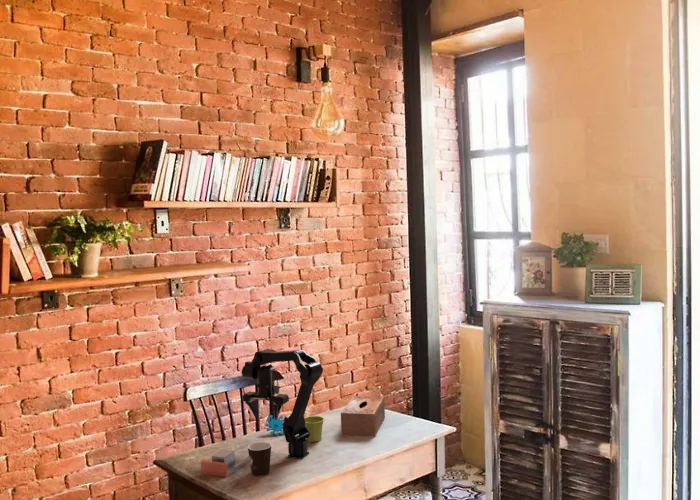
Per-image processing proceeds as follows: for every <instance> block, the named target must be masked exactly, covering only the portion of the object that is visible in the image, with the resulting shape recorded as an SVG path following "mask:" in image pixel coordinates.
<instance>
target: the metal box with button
mask: <svg viewBox="0 0 700 500" xmlns="http://www.w3.org/2000/svg"><path fill="white" fill-rule="evenodd" d="M235 455H236V452H235V450H230V449H223V448H221V450H218V451H217V452H216V453H213V454H212V455H211V461H214V462H222V463H228V469H230V468H231V467H233V466H234V465H236V456H235Z"/></svg>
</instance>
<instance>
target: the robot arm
mask: <svg viewBox="0 0 700 500" xmlns="http://www.w3.org/2000/svg"><path fill="white" fill-rule="evenodd" d="M273 362H274V363H276V362H280V363H281V362H293V363H294V365H295V368H296V370H297V371H298V373H299V380H300V382H301V383H300V386H299V389H298V393H297V395H296V399H295V402H294V405H293V407H292V410H291V413H290V414H288V415H285V416H284V417H283V418H284V419H283V420H284V422H283V424H282V425H283V429H282V431H283V432H284V434H283V435H284V437H285V438H284V439H285V442H286V443H287V447H288V448H287V449H288V455H287V457H288V458H293V459H295V458H296V459H299V460H301V459H304V458H305V457H307V455H309V454H310V452H309V451H308V440H307V439H306V438H309V436H310V432H309V431H308V429H307V428H306V427H305V419H304V418H305V414H306V411H307V408H308V405H309V401H310V398H311V394H312V391H313V389H314V386H315V385H316V383H317V382H318V381H319V380H320V378H321V377H322V375H323V372H324V367H323V366H322V364H321V363H320V362H319V361H318V360H317V359H316V358H315V357H313V356H311V355H310V354H308V353H307V352H305V350H304V349H296V350H295V349H294V350H275V349H271V348H270V349H269V348H266V349H261V350H258V351H256V352H254V356H253V358H252V360H251V361H249V360H248V361H245V362H244V365H243V367H242V368H241V376H242V377H243V378H245V379H251V380H257V384H255V387H256V388H257V391H249V390H248V391H247V392H245V393H243V394H242V396H241V397H242V398H241V399H242V402H244V404H246V405H247V406H248V407H249V409H250V411H251V413H252V415H253V416H254V418H255V419H257V418H258V415H259V414H258V413H259V411H258V403H259V400H260V401H272V402H273V403H274V404H273V407H272V408H273V414H274V415H273V417H274V418H275V420H277V419H278V418H279V416H280V415H279V414H280V412H281V409H282V407H283V405H285V404H287V403H288V402H289V401H290V397H289V395H288V394H287V393H280V385H279V386H278V385H275V383H274V381H272V380H273V379H272V377H273V376H272V371H276V367H274V366H273V365H272V364H271V363H273ZM303 362H304V363H305V364H304V363H303Z"/></svg>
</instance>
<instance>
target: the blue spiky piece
mask: <svg viewBox="0 0 700 500" xmlns="http://www.w3.org/2000/svg"><path fill="white" fill-rule="evenodd" d="M273 417H274V415H272V414H270V415H269V418H266V419H265V425H264V427H266V432H269V431H270V432H269V434H270V435H271V436H273V435H274V433H275V436H276V437H278V436H279V432H280V435H281V436H282V435H284V432H283V425H282V424H283V422H284V419H283V418H284V416H283V415H282V414H280V415H279V416H278V419H277V420H275V417H274V418H273Z"/></svg>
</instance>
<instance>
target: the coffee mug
mask: <svg viewBox="0 0 700 500" xmlns="http://www.w3.org/2000/svg"><path fill="white" fill-rule="evenodd" d="M247 452H248V456H249V459H250V461H249V463H250V470H251V475H252V476H254V477H263V476H267V475H268V474H270V470H271V468H270V467H271V455H272V454H271V453H272V444H271V443H270V442H265V441H257V442H253V443H249V445H247Z"/></svg>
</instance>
